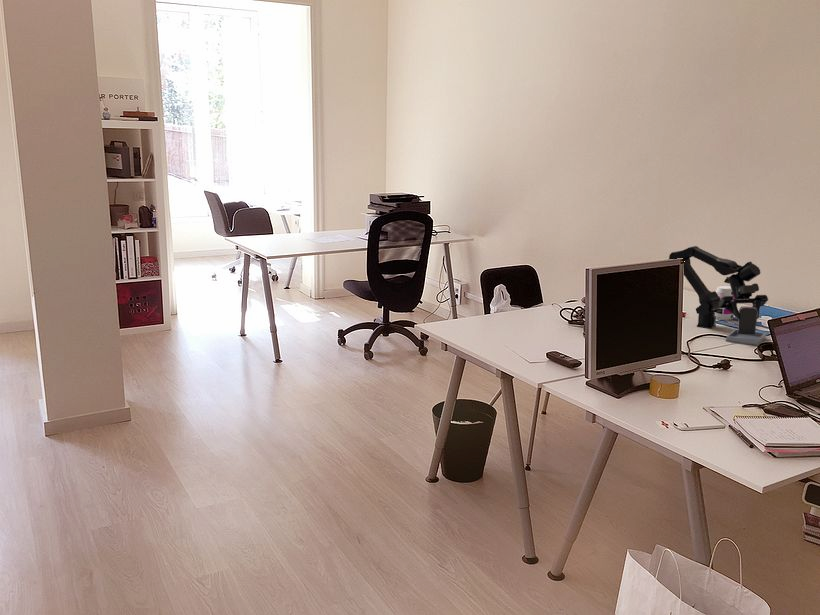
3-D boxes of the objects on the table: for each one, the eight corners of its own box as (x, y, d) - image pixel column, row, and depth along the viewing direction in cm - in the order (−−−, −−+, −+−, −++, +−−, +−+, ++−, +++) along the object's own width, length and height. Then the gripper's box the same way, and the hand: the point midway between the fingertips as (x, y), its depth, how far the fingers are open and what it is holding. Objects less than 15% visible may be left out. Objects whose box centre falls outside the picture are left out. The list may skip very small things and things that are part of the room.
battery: (754, 332, 291) (756, 306, 288) (755, 334, 288) (758, 308, 285) (736, 331, 293) (738, 305, 290) (737, 334, 290) (739, 307, 287)
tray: (725, 341, 290) (726, 336, 290) (734, 334, 299) (734, 329, 299) (758, 345, 282) (758, 340, 282) (765, 338, 292) (765, 333, 291)
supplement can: (734, 317, 325) (737, 286, 321) (732, 321, 318) (734, 289, 315) (716, 315, 329) (718, 284, 326) (713, 319, 323) (715, 288, 319)
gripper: (723, 277, 288) (734, 310, 280) (768, 276, 288) (779, 308, 280) (714, 291, 298) (723, 323, 290) (757, 290, 298) (767, 321, 290)
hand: (748, 318), depth 287 cm, fingers closed on battery, 7 cm apart
